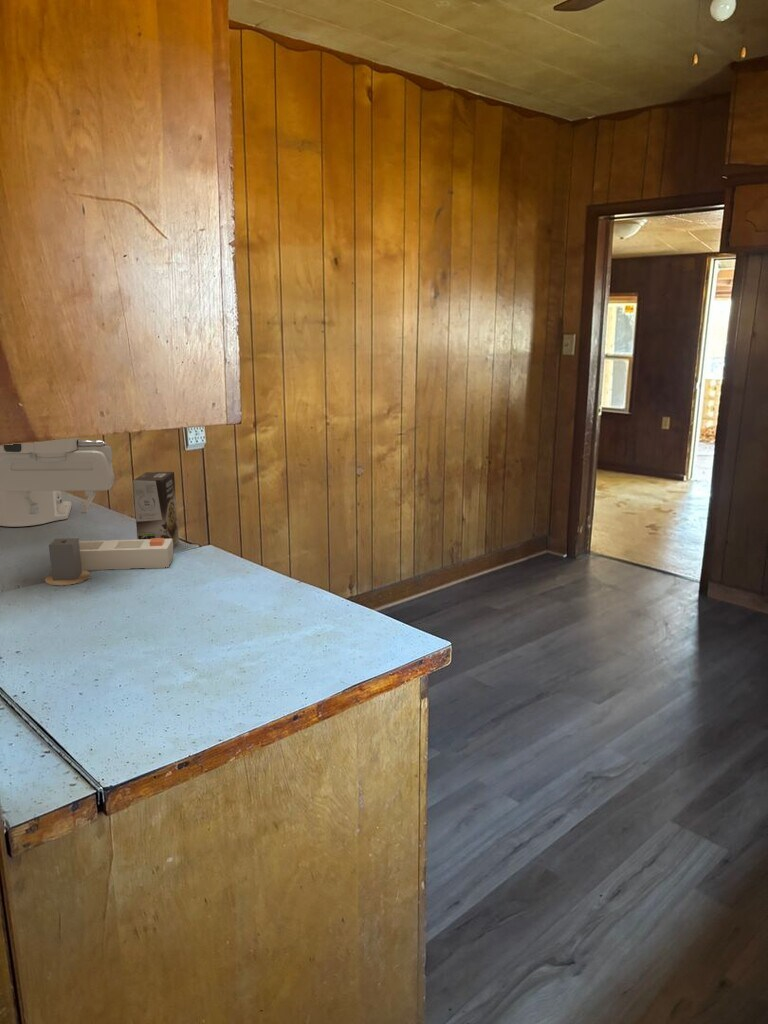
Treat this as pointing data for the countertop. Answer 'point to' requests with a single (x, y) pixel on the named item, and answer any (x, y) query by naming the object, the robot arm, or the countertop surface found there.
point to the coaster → (82, 577)
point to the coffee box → (156, 506)
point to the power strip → (126, 554)
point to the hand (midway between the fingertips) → (59, 513)
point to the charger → (65, 559)
